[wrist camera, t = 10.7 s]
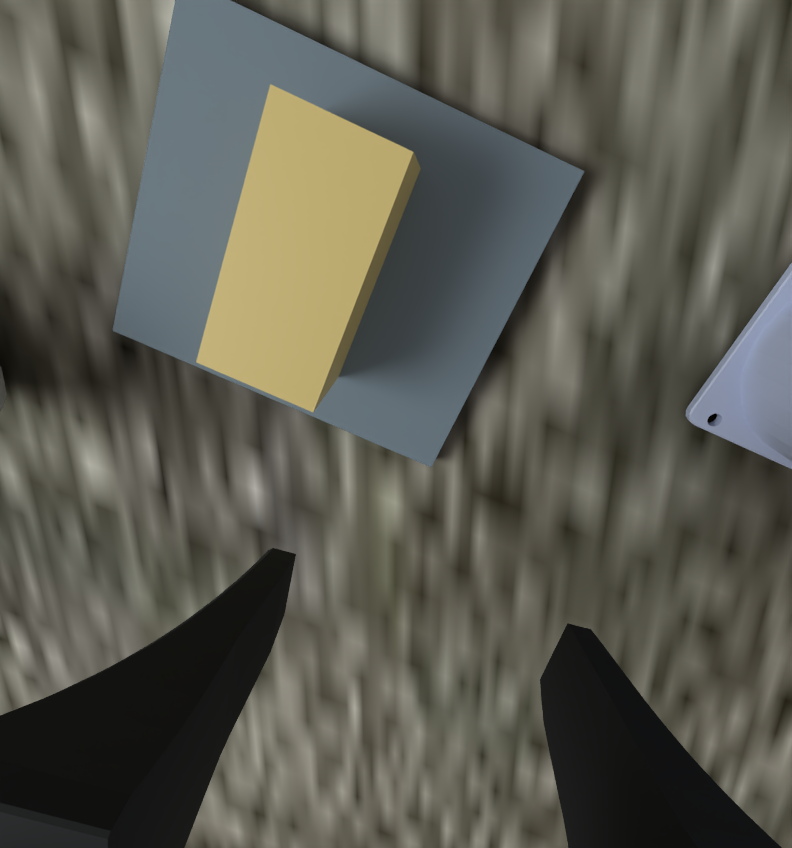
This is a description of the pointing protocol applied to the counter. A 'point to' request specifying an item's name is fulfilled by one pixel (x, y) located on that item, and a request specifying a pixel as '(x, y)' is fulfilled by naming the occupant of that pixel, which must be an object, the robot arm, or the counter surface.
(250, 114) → the mat
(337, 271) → the yellow rectangular block
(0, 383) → the donut
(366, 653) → the counter surface
